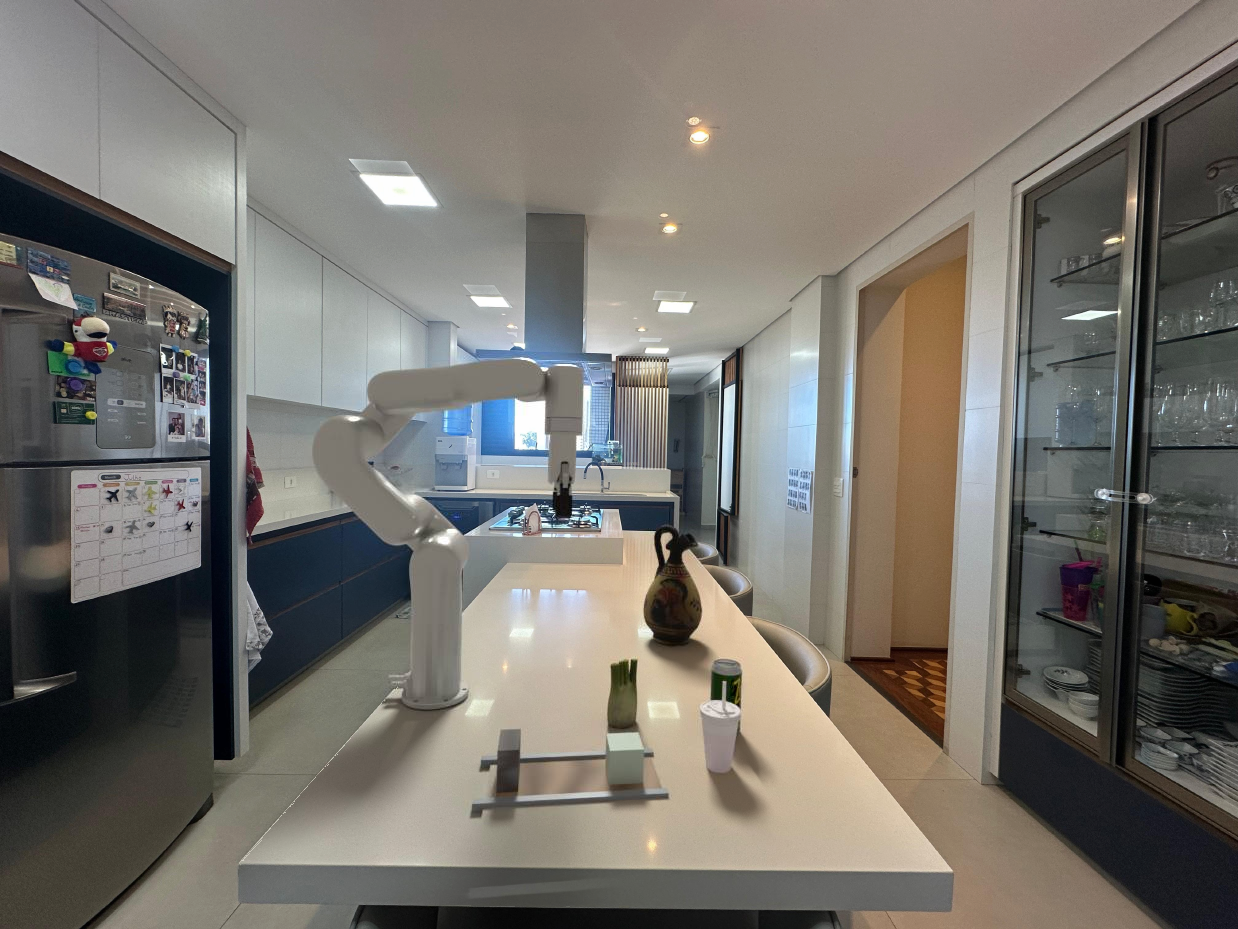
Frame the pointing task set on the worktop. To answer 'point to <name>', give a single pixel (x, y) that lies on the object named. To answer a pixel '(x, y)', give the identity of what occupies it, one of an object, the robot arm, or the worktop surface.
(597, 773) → the strip
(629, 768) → the block
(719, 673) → the beer can
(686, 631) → the ceramic jug
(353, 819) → the worktop surface
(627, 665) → the fennel bulb
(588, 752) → the lane rails
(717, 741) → the smoothie
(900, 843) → the worktop surface
